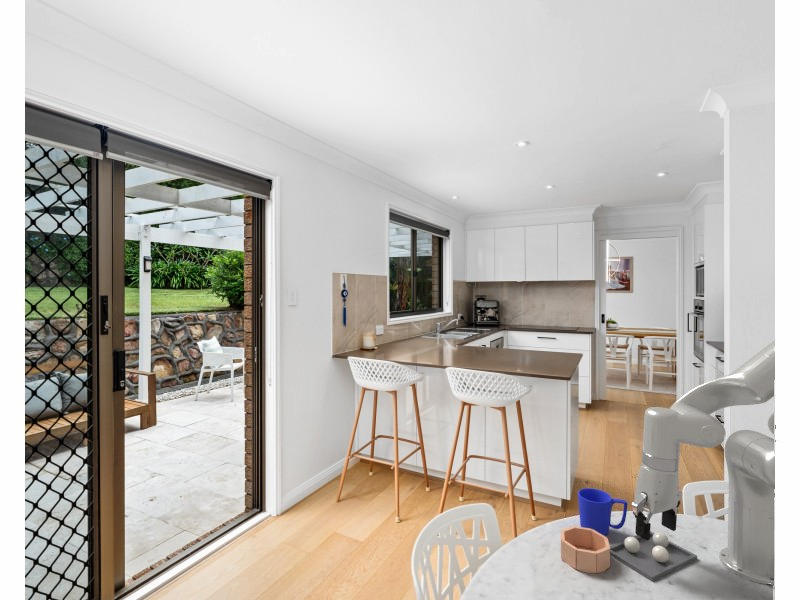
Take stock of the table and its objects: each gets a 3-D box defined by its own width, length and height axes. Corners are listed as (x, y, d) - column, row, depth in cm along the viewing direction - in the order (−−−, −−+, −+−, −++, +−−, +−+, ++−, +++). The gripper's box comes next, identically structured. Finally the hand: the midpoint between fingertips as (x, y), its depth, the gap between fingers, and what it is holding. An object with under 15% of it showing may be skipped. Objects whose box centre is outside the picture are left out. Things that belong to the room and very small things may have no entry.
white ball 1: (630, 545, 109) (630, 532, 109) (643, 553, 106) (643, 539, 106) (620, 549, 108) (621, 535, 107) (634, 557, 104) (634, 543, 104)
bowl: (581, 542, 111) (582, 522, 111) (618, 565, 102) (619, 544, 102) (551, 553, 107) (551, 533, 107) (587, 579, 97) (587, 557, 97)
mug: (631, 544, 110) (632, 505, 110) (581, 539, 113) (581, 501, 112) (622, 526, 118) (622, 490, 118) (575, 522, 121) (575, 486, 120)
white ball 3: (657, 555, 105) (658, 541, 105) (672, 563, 102) (672, 548, 102) (648, 559, 104) (648, 544, 104) (663, 567, 101) (663, 552, 100)
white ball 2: (658, 541, 111) (658, 528, 111) (671, 548, 108) (671, 535, 108) (649, 545, 109) (649, 531, 109) (663, 552, 106) (663, 538, 106)
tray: (648, 534, 114) (648, 530, 114) (697, 560, 104) (697, 555, 104) (604, 553, 107) (604, 548, 107) (651, 582, 96) (651, 577, 96)
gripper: (666, 450, 109) (662, 517, 110) (621, 460, 102) (617, 532, 102) (698, 461, 103) (694, 532, 103) (652, 473, 95) (647, 550, 96)
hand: (655, 532), depth 103 cm, fingers open, 9 cm apart
